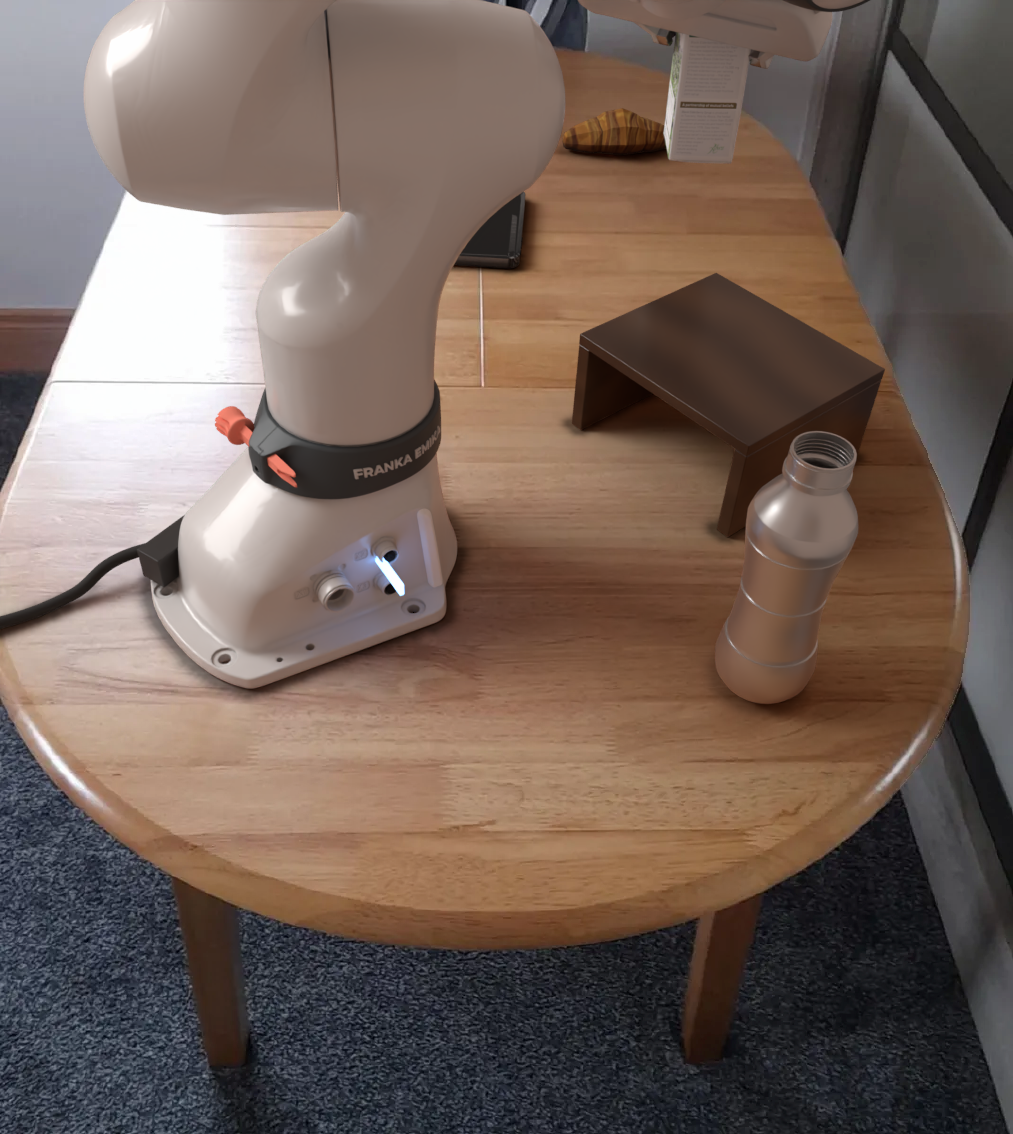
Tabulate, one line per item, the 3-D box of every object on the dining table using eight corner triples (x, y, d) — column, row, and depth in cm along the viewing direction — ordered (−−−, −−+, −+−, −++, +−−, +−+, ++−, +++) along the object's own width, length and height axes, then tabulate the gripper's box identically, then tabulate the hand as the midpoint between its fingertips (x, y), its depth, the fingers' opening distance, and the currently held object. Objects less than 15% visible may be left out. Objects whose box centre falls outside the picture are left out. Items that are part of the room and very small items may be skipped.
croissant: (566, 164, 134) (569, 122, 131) (556, 138, 139) (559, 97, 136) (680, 161, 136) (686, 119, 132) (666, 136, 141) (672, 95, 137)
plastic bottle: (818, 715, 77) (900, 486, 63) (718, 718, 77) (779, 489, 63) (794, 642, 82) (865, 414, 68) (699, 646, 81) (752, 416, 68)
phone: (441, 254, 116) (454, 184, 127) (441, 264, 117) (454, 194, 128) (520, 259, 116) (526, 189, 127) (520, 269, 117) (526, 198, 127)
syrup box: (733, 165, 100) (766, -15, 90) (665, 162, 100) (690, -19, 90) (725, 136, 104) (756, -39, 94) (659, 133, 104) (683, -42, 94)
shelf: (727, 537, 90) (749, 446, 83) (571, 423, 99) (579, 333, 93) (857, 458, 97) (885, 368, 91) (700, 359, 107) (716, 272, 101)
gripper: (840, -66, 80) (849, 38, 93) (575, -117, 87) (618, -13, 100) (805, 20, 80) (819, 113, 93) (544, -37, 87) (590, 57, 100)
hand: (713, 47), depth 96 cm, fingers closed on syrup box, 7 cm apart
